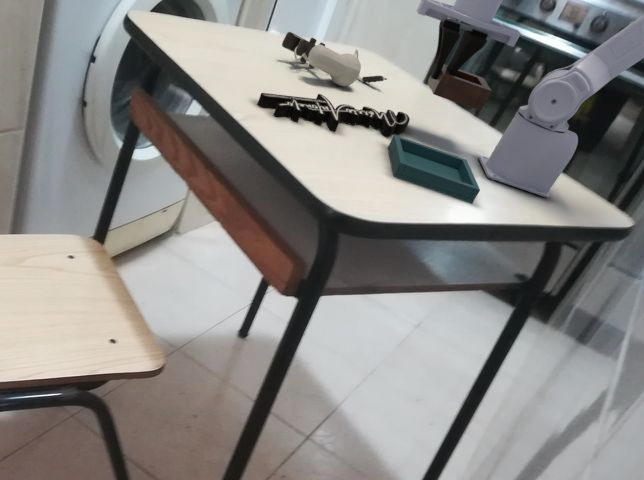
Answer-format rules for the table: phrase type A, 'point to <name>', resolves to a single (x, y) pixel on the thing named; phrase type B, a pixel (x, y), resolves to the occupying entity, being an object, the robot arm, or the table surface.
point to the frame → (461, 88)
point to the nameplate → (334, 113)
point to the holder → (432, 169)
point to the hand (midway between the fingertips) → (438, 79)
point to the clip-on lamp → (328, 60)
